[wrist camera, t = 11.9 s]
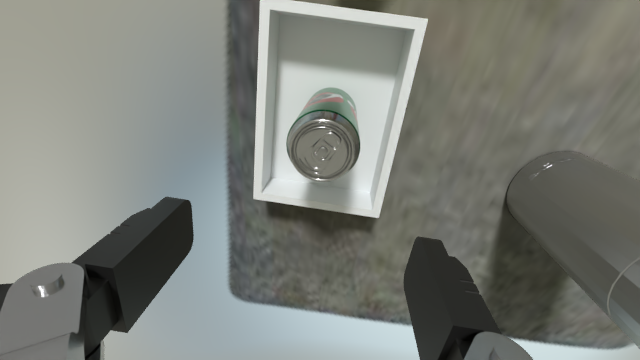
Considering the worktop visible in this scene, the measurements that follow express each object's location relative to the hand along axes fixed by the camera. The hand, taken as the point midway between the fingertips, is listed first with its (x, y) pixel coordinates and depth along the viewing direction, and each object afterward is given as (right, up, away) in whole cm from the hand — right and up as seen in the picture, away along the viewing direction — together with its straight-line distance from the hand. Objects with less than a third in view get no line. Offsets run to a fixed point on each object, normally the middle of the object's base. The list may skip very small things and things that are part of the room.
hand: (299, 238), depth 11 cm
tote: (+2, +9, +20) cm, 22 cm away
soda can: (+2, +9, +20) cm, 22 cm away
